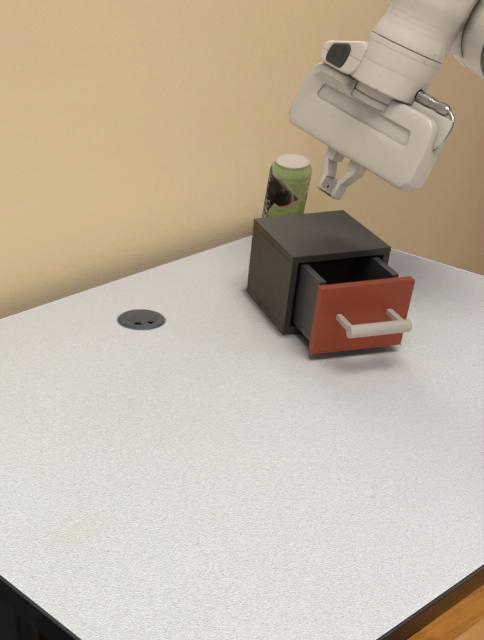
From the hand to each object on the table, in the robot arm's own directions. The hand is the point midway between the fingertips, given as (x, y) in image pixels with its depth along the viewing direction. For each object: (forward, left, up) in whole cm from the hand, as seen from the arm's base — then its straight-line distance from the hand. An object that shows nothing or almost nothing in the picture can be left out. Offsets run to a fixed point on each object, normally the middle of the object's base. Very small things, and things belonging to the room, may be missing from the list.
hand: (328, 194), depth 111 cm
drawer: (+1, +14, -12) cm, 18 cm away
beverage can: (-4, -22, -13) cm, 26 cm away
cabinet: (+1, +3, -13) cm, 14 cm away
